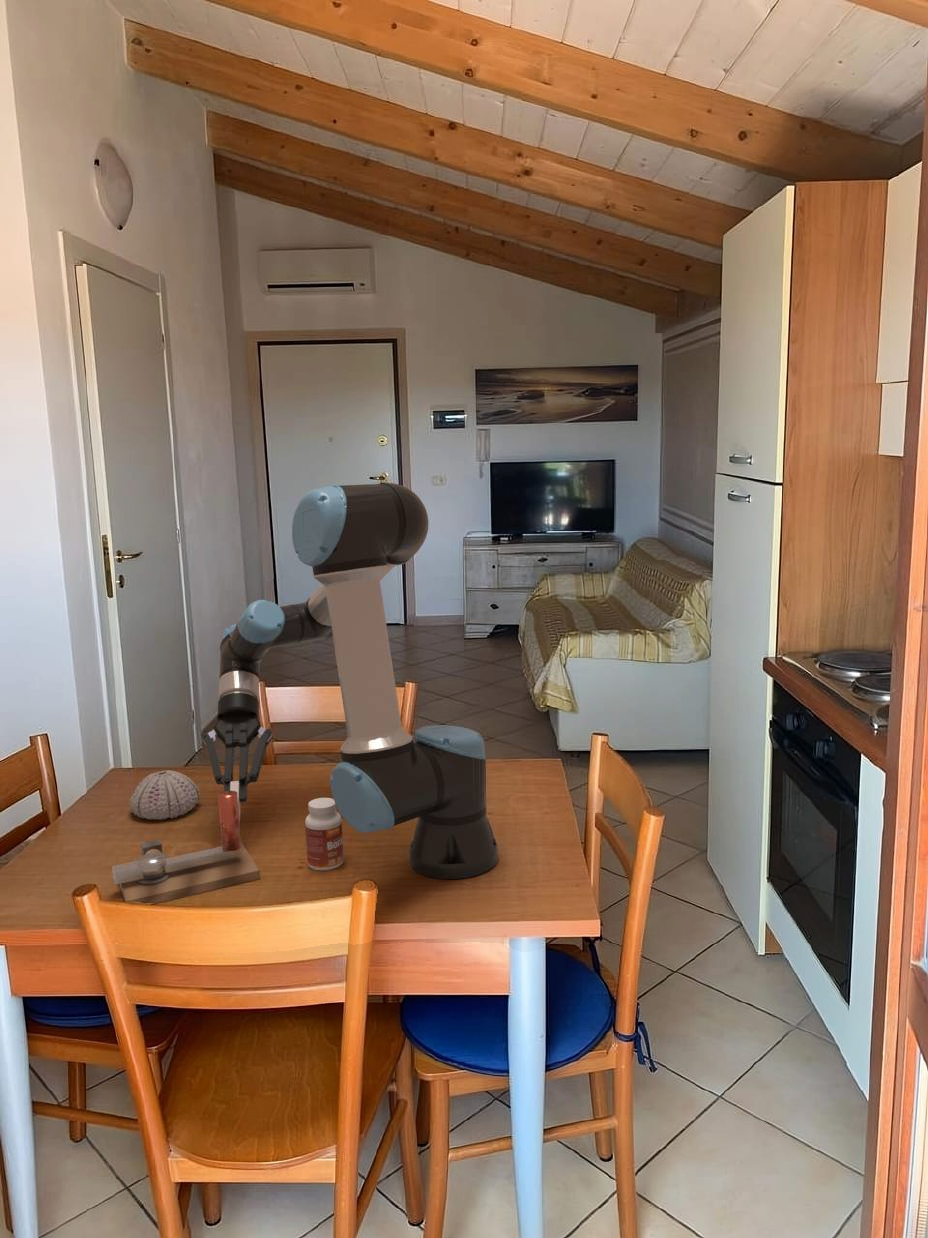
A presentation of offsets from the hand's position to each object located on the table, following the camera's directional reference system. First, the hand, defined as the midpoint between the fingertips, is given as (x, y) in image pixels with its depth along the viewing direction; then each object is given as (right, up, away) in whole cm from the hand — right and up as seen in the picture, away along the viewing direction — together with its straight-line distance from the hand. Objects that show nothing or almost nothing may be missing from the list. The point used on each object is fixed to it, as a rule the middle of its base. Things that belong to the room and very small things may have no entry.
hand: (234, 818), depth 164 cm
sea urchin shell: (-19, -3, +22) cm, 29 cm away
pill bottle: (+17, -7, -4) cm, 18 cm away
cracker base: (-6, -8, -7) cm, 12 cm away
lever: (-7, -6, -9) cm, 13 cm away
